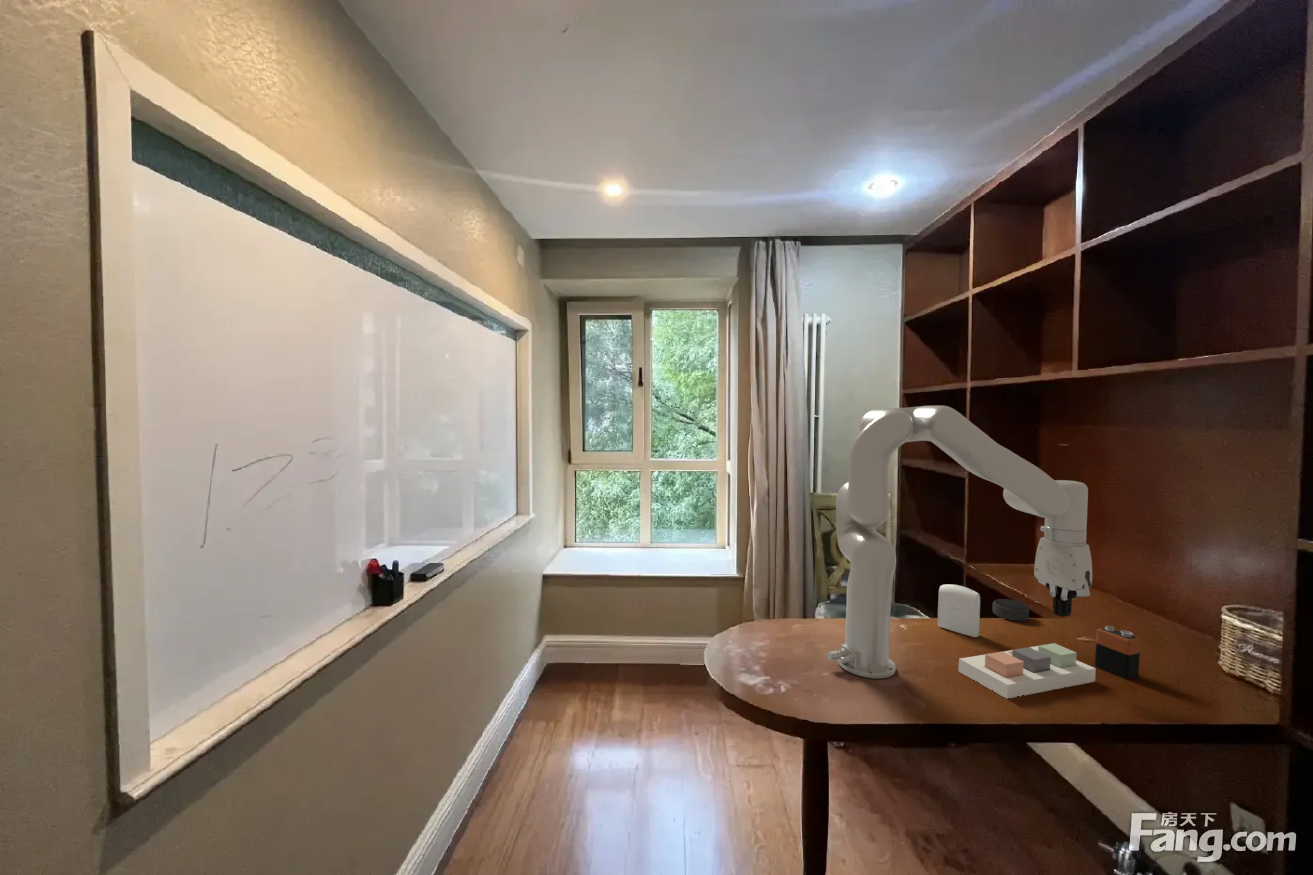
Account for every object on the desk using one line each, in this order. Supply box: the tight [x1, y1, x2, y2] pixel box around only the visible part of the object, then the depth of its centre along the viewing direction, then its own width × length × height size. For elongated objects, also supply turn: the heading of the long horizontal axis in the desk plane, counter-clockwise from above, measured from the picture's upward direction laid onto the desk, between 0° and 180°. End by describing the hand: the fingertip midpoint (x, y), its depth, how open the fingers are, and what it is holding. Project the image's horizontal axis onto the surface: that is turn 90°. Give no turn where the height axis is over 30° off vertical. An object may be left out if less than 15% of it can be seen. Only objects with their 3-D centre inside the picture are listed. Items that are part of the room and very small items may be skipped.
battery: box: [1094, 625, 1142, 680], centre depth 123 cm, size 4×7×10 cm, turn 20°
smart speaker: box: [992, 598, 1030, 622], centre depth 156 cm, size 9×9×4 cm
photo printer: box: [937, 584, 981, 638], centre depth 145 cm, size 10×4×12 cm, turn 39°
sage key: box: [1037, 642, 1078, 668], centre depth 122 cm, size 5×5×3 cm
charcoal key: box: [1011, 646, 1051, 673], centre depth 119 cm, size 5×5×3 cm
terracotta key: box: [984, 650, 1024, 678], centre depth 117 cm, size 5×5×3 cm
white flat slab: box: [958, 645, 1097, 699], centre depth 120 cm, size 26×12×3 cm, turn 107°
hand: (1061, 614), depth 121 cm, fingers closed
